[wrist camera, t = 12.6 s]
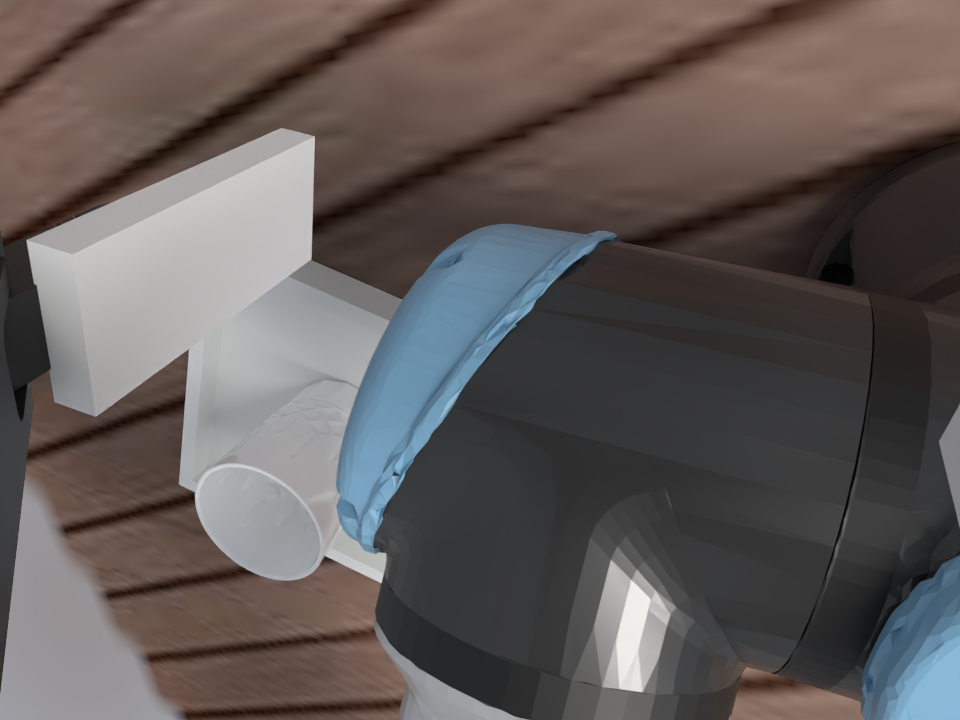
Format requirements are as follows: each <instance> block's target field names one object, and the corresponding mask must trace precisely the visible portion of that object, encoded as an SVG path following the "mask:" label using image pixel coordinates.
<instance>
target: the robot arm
mask: <svg viewBox="0 0 960 720" xmlns="http://www.w3.org/2000/svg"><path fill="white" fill-rule="evenodd" d="M314 151H315V136H311V135H307V134H303V133H299V132H296V131H292V130H288V129H284V128H280V129H278V130H276V131H273V132H271V133H269V134H267V135H264V136H262V137H260V138H258V139H255V140H253V141H251V142H248V143H246V144H244V145H242V146H239V147H237V148H235V149H232V150H230V151H228V152H226V153H223V154H221V155H219V156H217V157H214V158H212V159H210V160H207V161H205V162H203V163H201V164H198V165H196V166H194V167H192V168H189V169H187V170H185V171H182V172H180V173H178V174H176V175H173V176H171V177H169V178H167V179H164V180H162V181H160V182H157V183H155V184H153V185H151V186H148V187H146V188H144V189H142V190H139V191H137V192H135V193H132V194H130V195H128V196H126V197H123V198H121V199H119V200H116V201H114V202H112V203H108V204H103V205H99V206H96V207H94V208H92V209H89V210H87V211H85V212H82V213H80V214H78V215H76V218H72V217H71V218H69V219H66V220H64V221H62V222H60V223H57V226H56V227H55V226H50V227H48V228H46V229H43V230H41V231H39V232H37V233H34V234H32V235H30V236H27V237H25V238H23V239H20V240H18V241H16V242H14V243H11V244H9V245H7V246H4V247H3V242H2V237H1V232H0V690H1V681H2V672H3V664H4V655H5V646H6V637H7V628H8V620H9V611H10V601H11V593H12V585H13V576H14V567H15V558H16V550H17V541H18V532H19V523H20V514H21V506H22V497H23V488H24V480H25V471H26V462H27V453H28V445H29V436H30V427H31V418H32V409H33V398H32V393H31V388H30V382H31V381H32V380H34V379H35V378H37V377H39V376H40V375H42V374H43V373H45V372H47V371H48V370H49V372H50V378H51V384H52V389H53V395H54V401H55V403H58V404H61V405H64V406H67V407H69V408H72V409H75V410H78V411H80V412H83V413H86V414H89V415H92V416H94V417H97V416H98V415H99V414H101V413H102V412H103V411H105V410H106V409H108V408H109V407H110V406H112V405H113V404H114V403H116V402H117V401H118V400H120V399H121V398H123V397H124V396H125V395H127V394H128V393H129V392H131V391H132V390H133V389H135V388H136V387H138V386H139V385H140V384H142V383H143V382H144V381H146V380H147V379H149V378H150V377H151V376H153V375H154V374H155V373H157V372H158V371H159V370H161V369H162V368H164V367H165V366H166V365H168V364H169V363H170V362H172V361H173V360H174V359H176V358H177V357H179V356H180V355H181V354H183V353H184V352H185V351H187V350H188V349H190V348H191V347H192V346H194V345H195V344H196V343H198V342H199V341H200V340H202V339H203V338H205V337H206V336H207V335H209V334H210V333H211V332H213V331H214V330H215V329H217V328H218V327H220V326H221V325H222V324H224V323H225V322H226V321H228V320H229V319H231V318H232V317H233V316H235V315H236V314H237V313H239V312H240V311H241V310H243V309H244V308H246V307H247V306H248V305H250V304H251V303H252V302H254V301H255V300H256V299H258V298H259V297H261V296H262V295H263V294H265V293H266V292H267V291H269V290H270V289H272V288H273V287H274V286H276V285H277V284H278V283H280V282H281V281H282V280H284V279H285V278H287V277H288V276H289V275H291V274H292V273H293V272H295V271H296V270H297V269H299V268H300V267H302V266H303V265H304V264H306V263H307V262H308V261H310V260H311V258H312V223H313V187H314ZM336 488H337V491H338V493H339V494H340V498H339V500H338V503H337V506H336V508H337V513H338V518H339V522H340V524H341V526H342V528H343V530H344V531H345V533H346V534H347V535H348V536H349V537H350V538H352V539H354V540H356V541H358V542H359V544H360V546H361V547H362V549H363V550H364V551H367V552H370V553H373V554H377V553H378V552H379V553H386V565H385V571H384V575H383V579H382V583H381V588H380V592H379V596H378V600H377V605H376V610H375V619H374V628H375V632H376V635H377V637H378V639H379V641H380V643H381V645H382V646H383V648H384V649H385V651H386V652H387V654H388V655H389V657H390V658H391V660H392V661H393V663H394V664H395V666H396V667H397V668H398V670H399V671H400V673H401V674H402V676H403V677H404V679H405V680H406V686H405V690H404V694H403V698H402V703H401V707H400V711H399V715H398V719H397V720H730V718H731V714H732V710H733V706H734V702H735V698H736V694H737V690H738V686H739V682H740V679H741V675H742V672H743V671H744V669H745V668H746V667H749V668H753V669H757V670H761V671H765V672H769V673H772V674H777V675H780V676H783V677H786V678H789V679H792V680H795V681H798V682H802V683H805V684H808V685H811V686H814V687H817V688H820V689H823V690H826V691H829V692H832V693H835V694H839V695H842V696H845V697H848V698H851V699H854V700H857V701H860V702H861V713H862V715H863V716H864V718H865V720H960V142H958V143H954V144H951V145H948V146H944V147H941V148H938V149H935V150H933V151H930V152H928V153H925V154H923V155H920V156H918V157H916V158H914V159H911V160H909V161H907V162H905V163H904V164H902V165H900V166H898V167H896V168H894V169H893V170H891V171H889V172H888V173H886V174H885V175H883V176H882V177H880V178H879V179H877V180H876V181H874V182H873V183H872V184H870V185H869V186H868V187H867V188H865V189H864V190H863V191H862V192H860V193H859V194H858V195H857V196H856V197H855V198H854V199H853V200H852V201H850V202H849V204H848V205H847V206H846V207H845V208H844V209H843V210H842V211H841V212H840V213H839V214H838V216H837V217H836V218H835V219H834V220H833V222H832V223H831V224H830V226H829V227H828V229H827V230H826V231H825V233H824V235H823V236H822V238H821V240H820V241H819V243H818V245H817V247H816V249H815V251H814V253H813V255H812V257H811V260H810V262H809V265H808V268H807V271H806V274H805V278H804V277H798V276H793V275H788V274H783V273H778V272H773V271H767V270H762V269H757V268H752V267H747V266H742V265H736V264H731V263H726V262H721V261H716V260H711V259H705V258H700V257H695V256H690V255H685V254H680V253H674V252H669V251H664V250H659V249H654V248H649V247H643V246H638V245H633V244H628V243H623V242H620V238H618V237H617V235H616V233H612V232H608V231H596V232H593V233H590V234H581V233H574V232H567V231H559V230H552V229H545V228H538V227H531V226H524V225H517V224H495V225H489V226H485V227H482V228H479V229H476V230H474V231H472V232H470V233H468V234H467V235H465V236H463V237H461V238H459V239H458V240H456V241H455V242H454V243H453V244H451V245H450V246H449V247H447V248H446V249H445V250H444V251H443V252H441V253H440V254H439V255H438V256H437V257H436V259H435V260H434V261H433V262H432V263H431V265H430V266H429V267H428V269H427V270H426V271H425V273H424V274H423V275H422V276H421V277H420V278H418V279H417V280H416V282H415V283H414V285H413V286H412V287H411V289H410V290H409V292H408V293H407V295H406V296H405V297H404V299H403V300H402V302H401V304H400V305H399V307H398V308H397V310H396V312H395V314H394V315H393V317H392V319H391V320H390V322H389V324H388V326H387V328H386V329H385V331H384V333H383V335H382V337H381V339H380V341H379V343H378V345H377V347H376V349H375V351H374V354H373V356H372V358H371V360H370V362H369V365H368V367H367V369H366V372H365V374H364V376H363V379H362V381H361V384H360V387H359V389H358V392H357V395H356V398H355V401H354V404H353V407H352V410H351V413H350V416H349V419H348V422H347V425H346V429H345V433H344V437H343V440H342V445H341V449H340V454H339V461H338V468H337V478H336Z"/></svg>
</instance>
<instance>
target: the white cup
mask: <svg viewBox="0 0 960 720" xmlns="http://www.w3.org/2000/svg"><path fill="white" fill-rule="evenodd" d="M357 392H358V388H356V387H354V386H352V385H350V384H349V383H346V382H339V381H331V380H323V381H320V382H317V383H315V384H312V385H309V386H307V387H306V388H304V389H303V390H302V391H301V392H300V393H299V394H298V395H297V396H296V397H294V398H293V399H292V400H291V401H290V402H289V403H288V404H286V405H284V406H283V407H281V408H280V409H279V410H277V411H276V412H275V413H274V414H272V415H271V416H270V417H269V418H268V419H267V420H266V421H264V422H263V423H261V424H260V425H259V426H258V427H256V428H255V429H254V430H253V431H252V432H251V433H250V434H248V435H247V436H246V437H245V438H244V439H243V440H242V441H241V442H239V443H238V444H237V445H236V446H235V447H234V448H233V449H231V450H230V451H229V452H228V453H227V454H226V455H225V456H223V457H222V458H221V459H220V460H219V461H218V462H217V463H215V464H214V465H213V466H212V467H211V468H210V469H208V470H207V471H206V472H205V473H204V474H203V475H202V476H201V478H200V479H199V481H198V483H197V486H196V490H195V505H196V510H197V513H198V516H199V519H200V521H201V523H202V525H203V527H204V529H205V531H206V532H207V534H208V535H209V537H210V538H211V539H212V541H213V542H214V543H215V544H216V545H217V546H218V547H219V548H220V549H221V550H222V551H223V552H224V553H225V554H226V555H227V556H228V557H229V558H231V559H232V560H233V561H235V562H236V563H237V564H239V565H240V566H242V567H244V568H245V569H247V570H249V571H251V572H253V573H255V574H258V575H260V576H263V577H267V578H270V579H275V580H284V581H289V580H297V579H301V578H304V577H306V576H308V575H310V574H311V573H312V572H314V571H315V570H316V569H317V567H318V566H319V564H320V563H321V561H322V560H323V558H324V557H325V555H326V554H327V552H328V550H329V549H330V547H331V546H332V544H333V543H334V541H335V540H336V538H337V537H338V535H339V534H340V532H341V531H342V529H343V528H342V526H341V524H340V522H339V518H338V513H337V508H336V506H337V503H338V500H339V498H340V494H339V493H338V491H337V488H336V478H337V468H338V461H339V454H340V449H341V445H342V440H343V437H344V433H345V429H346V425H347V422H348V419H349V416H350V413H351V410H352V407H353V404H354V401H355V398H356V395H357Z"/></svg>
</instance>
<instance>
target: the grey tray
mask: <svg viewBox="0 0 960 720" xmlns="http://www.w3.org/2000/svg"><path fill="white" fill-rule="evenodd" d="M401 302H402V299H400V298H398V297H395V296H393V295H391V294H388V293H386V292H384V291H381V290H379V289H377V288H375V287H372V286H370V285H368V284H365V283H363V282H361V281H358V280H356V279H354V278H351V277H349V276H347V275H345V274H342V273H340V272H338V271H335V270H333V269H331V268H328V267H326V266H324V265H322V264H319V263H317V262H315V261H312V260H310V261H308V262H307V263H306V264H304V265H303V266H302V267H300V268H299V269H297V270H296V271H295V272H293V273H292V274H291V275H289V276H288V277H287V278H285V279H284V280H282V281H281V282H280V283H278V284H277V285H276V286H274V287H273V288H272V289H270V290H269V291H267V292H266V293H265V294H263V295H262V296H261V297H259V298H258V299H256V300H255V301H254V302H252V303H251V304H250V305H248V306H247V307H246V308H244V309H243V310H241V311H240V312H239V313H237V314H236V315H235V316H233V317H232V318H231V319H229V320H228V321H226V322H225V323H224V324H222V325H221V326H220V327H218V328H217V329H215V330H214V331H213V332H211V333H210V334H209V335H207V336H206V337H205V338H203V339H202V340H200V341H199V342H198V343H196V344H195V345H194V346H192V347H191V348H190V349H189V358H188V371H187V384H186V397H185V410H184V424H183V437H182V450H181V463H180V477H179V485H181V486H183V487H185V488H187V489H189V490H191V491H193V492H195V490H196V486H197V483H198V481H199V479H200V478H201V476H202V475H203V474H204V473H205V472H206V471H207V470H208V469H210V468H211V467H212V466H213V465H214V464H215V463H217V462H218V461H219V460H220V459H221V458H222V457H223V456H225V455H226V454H227V453H228V452H229V451H230V450H231V449H233V448H234V447H235V446H236V445H237V444H238V443H239V442H241V441H242V440H243V439H244V438H245V437H246V436H247V435H248V434H250V433H251V432H252V431H253V430H254V429H255V428H256V427H258V426H259V425H260V424H261V423H263V422H264V421H266V420H267V419H268V418H269V417H270V416H271V415H272V414H274V413H275V412H276V411H277V410H279V409H280V408H281V407H283V406H284V405H286V404H288V403H289V402H290V401H291V400H292V399H293V398H294V397H296V396H297V395H298V394H299V393H300V392H301V391H302V390H303V389H304V388H306V387H307V386H309V385H312V384H315V383H317V382H320V381H323V380H331V381H339V382H346V383H349V384H350V385H352V386H354V387H356V388H358V389H359V387H360V384H361V381H362V379H363V376H364V374H365V372H366V369H367V367H368V365H369V362H370V360H371V358H372V356H373V354H374V351H375V349H376V347H377V345H378V343H379V341H380V339H381V337H382V335H383V333H384V331H385V329H386V328H387V326H388V324H389V322H390V320H391V319H392V317H393V315H394V314H395V312H396V310H397V308H398V307H399V305H400V304H401ZM325 556H326V557H329V558H331V559H333V560H335V561H337V562H339V563H341V564H343V565H345V566H347V567H349V568H351V569H353V570H355V571H357V572H359V573H361V574H363V575H365V576H367V577H370V578H372V579H374V580H376V581H378V582H380V583H382V579H383V575H384V571H385V565H386V553H379V552H378V553H377V554H373V553H370V552H367V551H364V550H363V549H362V547H361V546H360V544H359V542H358V541H356V540H354V539H352V538H350V537H349V536H348V535H347V534H346V533H345V531H344V530H343V529H342V531H341V532H340V534H339V535H338V537H337V538H336V540H335V541H334V543H333V544H332V546H331V547H330V549H329V550H328V552H327V554H326V555H325Z"/></svg>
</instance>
